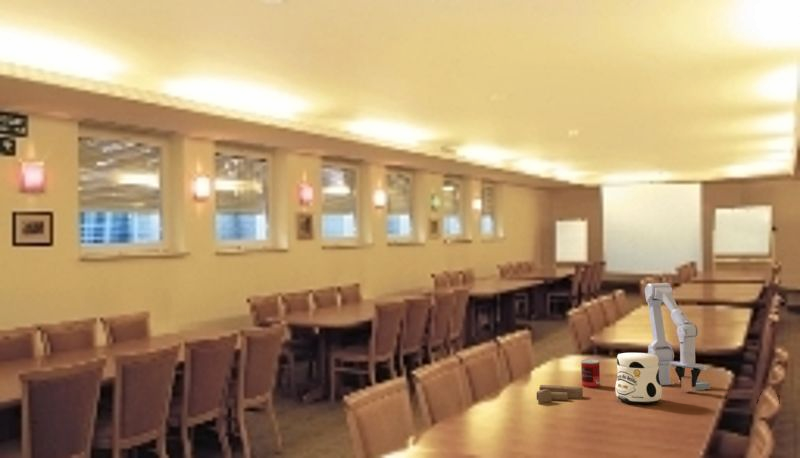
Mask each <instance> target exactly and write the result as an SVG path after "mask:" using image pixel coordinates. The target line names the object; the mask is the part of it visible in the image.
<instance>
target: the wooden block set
mask: <svg viewBox="0 0 800 458" xmlns="http://www.w3.org/2000/svg"><path fill="white" fill-rule="evenodd" d="M583 389H584V387H583V386H571V385H570V386H569V385H568V386H567V385H556V384H554V385H553V384H540V385H539V390H538V391H536V400H537V402H538V403H537V404H538V405H542V404H547V403H551V402H552V401H563V402H564V401H565V402H567V401H568V400H569V399H581V398H583V397H584V394H583V393H584V391H583Z"/></svg>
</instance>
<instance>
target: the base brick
mask: <svg viewBox="0 0 800 458" xmlns="http://www.w3.org/2000/svg"><path fill="white" fill-rule="evenodd" d="M705 389H710V390H711V382H707V381H704V380H703V379H697V382H696V386H695V389H694V390H693V391H706V390H705Z"/></svg>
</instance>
